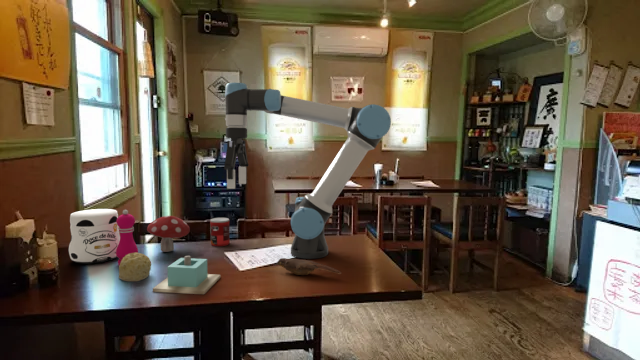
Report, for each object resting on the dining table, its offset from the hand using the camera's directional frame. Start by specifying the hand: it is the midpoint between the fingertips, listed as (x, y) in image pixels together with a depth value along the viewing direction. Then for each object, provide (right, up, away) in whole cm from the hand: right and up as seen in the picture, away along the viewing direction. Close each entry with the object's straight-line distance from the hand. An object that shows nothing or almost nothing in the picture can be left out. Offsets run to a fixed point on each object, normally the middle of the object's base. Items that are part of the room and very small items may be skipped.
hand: (237, 186), depth 143 cm
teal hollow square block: (-11, -30, -19) cm, 37 cm away
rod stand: (-12, -31, -19) cm, 38 cm away
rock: (-31, -30, -13) cm, 45 cm away
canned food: (-13, -26, +27) cm, 40 cm away
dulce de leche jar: (-54, -28, +4) cm, 60 cm away
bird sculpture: (+26, -31, -9) cm, 41 cm away
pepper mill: (-40, -29, 0) cm, 49 cm away
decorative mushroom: (-30, -27, +15) cm, 43 cm away
